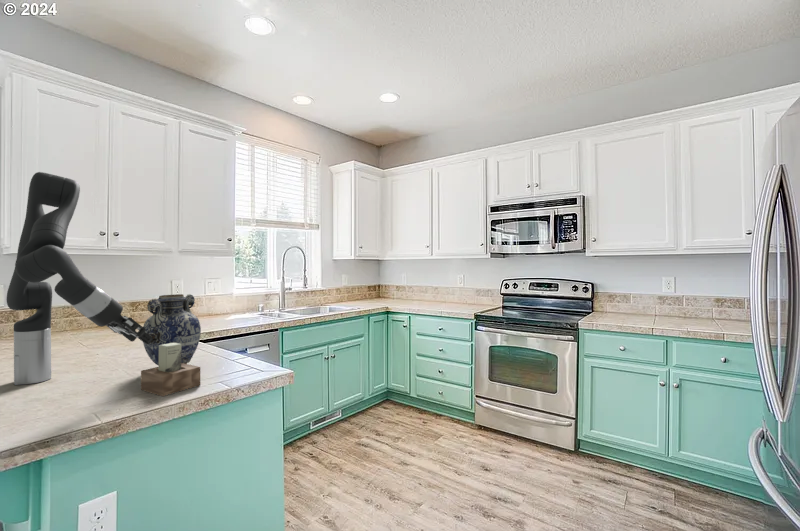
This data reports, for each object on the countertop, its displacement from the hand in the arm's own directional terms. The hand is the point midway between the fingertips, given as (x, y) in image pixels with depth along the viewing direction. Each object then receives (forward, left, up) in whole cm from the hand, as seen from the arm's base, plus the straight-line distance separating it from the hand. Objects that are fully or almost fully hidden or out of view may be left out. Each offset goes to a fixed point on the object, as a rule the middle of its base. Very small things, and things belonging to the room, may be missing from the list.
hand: (142, 340), depth 119 cm
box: (+8, +2, -16) cm, 18 cm away
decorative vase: (+14, +23, -17) cm, 32 cm away
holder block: (+8, +2, -16) cm, 19 cm away
